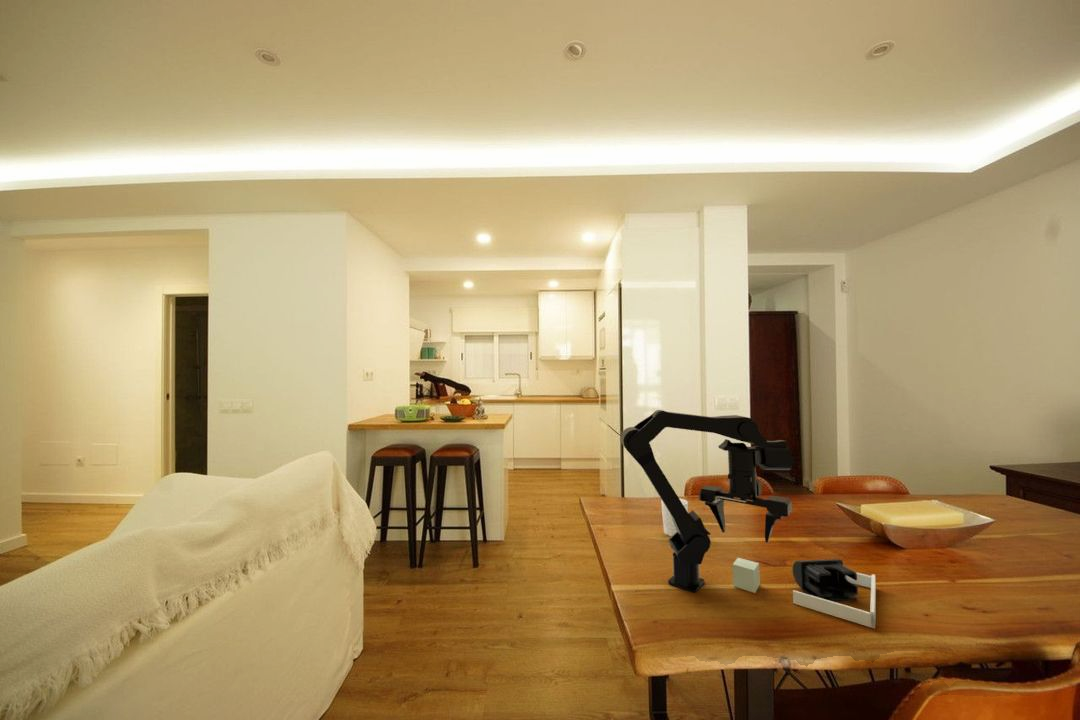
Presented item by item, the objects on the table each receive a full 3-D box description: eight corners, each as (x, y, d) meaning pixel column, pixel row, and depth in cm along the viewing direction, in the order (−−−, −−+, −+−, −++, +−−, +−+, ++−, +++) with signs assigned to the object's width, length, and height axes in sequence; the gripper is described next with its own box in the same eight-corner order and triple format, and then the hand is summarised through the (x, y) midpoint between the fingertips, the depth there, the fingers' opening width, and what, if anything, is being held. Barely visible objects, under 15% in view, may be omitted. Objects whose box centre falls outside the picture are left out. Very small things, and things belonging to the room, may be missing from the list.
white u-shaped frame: (875, 628, 73) (874, 612, 74) (793, 603, 82) (792, 588, 82) (875, 588, 88) (875, 574, 88) (806, 570, 97) (805, 558, 97)
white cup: (684, 540, 116) (683, 506, 116) (658, 534, 120) (657, 501, 121) (691, 532, 122) (690, 500, 122) (667, 527, 127) (666, 496, 127)
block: (755, 593, 86) (754, 570, 87) (733, 586, 89) (732, 564, 90) (759, 585, 90) (758, 563, 90) (738, 579, 93) (737, 557, 93)
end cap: (832, 584, 90) (831, 554, 91) (860, 601, 83) (858, 568, 84) (792, 586, 89) (791, 556, 90) (816, 603, 82) (815, 570, 83)
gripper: (794, 469, 91) (797, 536, 90) (712, 459, 103) (714, 518, 102) (785, 477, 83) (789, 552, 82) (697, 466, 95) (699, 531, 94)
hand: (744, 536), depth 90 cm, fingers open, 9 cm apart
